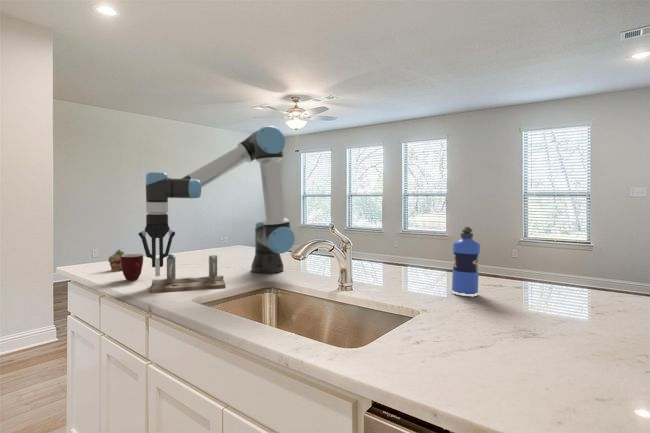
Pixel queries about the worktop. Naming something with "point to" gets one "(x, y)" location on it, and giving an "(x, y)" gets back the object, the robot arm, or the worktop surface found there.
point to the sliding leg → (171, 267)
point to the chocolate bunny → (116, 260)
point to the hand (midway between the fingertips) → (157, 275)
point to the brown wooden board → (187, 284)
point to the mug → (132, 266)
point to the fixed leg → (213, 266)
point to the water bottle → (465, 263)
